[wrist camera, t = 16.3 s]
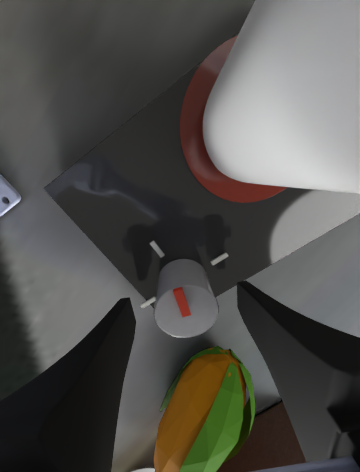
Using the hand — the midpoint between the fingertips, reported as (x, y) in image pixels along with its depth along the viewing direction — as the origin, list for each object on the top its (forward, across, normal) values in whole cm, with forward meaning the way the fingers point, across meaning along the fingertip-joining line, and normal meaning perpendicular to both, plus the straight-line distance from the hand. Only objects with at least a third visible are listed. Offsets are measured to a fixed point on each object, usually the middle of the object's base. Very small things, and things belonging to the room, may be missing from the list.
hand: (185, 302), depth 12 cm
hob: (+5, -3, -6) cm, 8 cm away
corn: (+5, +1, +17) cm, 18 cm away
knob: (+2, 0, 0) cm, 2 cm away
